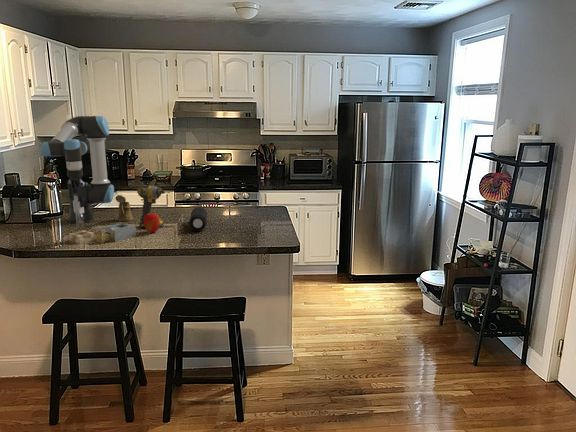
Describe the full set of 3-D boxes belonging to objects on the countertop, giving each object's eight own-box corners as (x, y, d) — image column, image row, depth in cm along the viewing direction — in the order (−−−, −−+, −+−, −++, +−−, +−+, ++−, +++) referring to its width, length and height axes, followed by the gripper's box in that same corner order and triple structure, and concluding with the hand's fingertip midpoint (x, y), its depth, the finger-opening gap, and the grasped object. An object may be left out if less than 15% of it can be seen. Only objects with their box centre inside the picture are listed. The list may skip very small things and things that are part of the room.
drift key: (96, 241, 258) (95, 234, 256) (112, 237, 266) (112, 229, 265) (102, 243, 255) (101, 235, 254) (118, 238, 264) (117, 230, 263)
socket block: (102, 238, 264) (101, 228, 263) (122, 232, 276) (122, 222, 274) (115, 241, 259) (114, 231, 257) (136, 235, 270) (135, 225, 269)
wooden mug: (113, 223, 296) (111, 195, 291) (120, 218, 309) (118, 190, 305) (128, 223, 296) (126, 195, 292) (134, 218, 309) (132, 190, 305)
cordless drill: (167, 229, 282) (165, 188, 276) (136, 228, 286) (133, 186, 280) (174, 226, 291) (172, 185, 284) (144, 224, 294) (141, 184, 288)
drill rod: (75, 226, 258) (71, 193, 254) (81, 224, 261) (78, 192, 257) (79, 227, 256) (76, 194, 252) (85, 225, 259) (82, 193, 255)
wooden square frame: (69, 241, 260) (68, 234, 259) (84, 237, 267) (83, 230, 266) (80, 243, 255) (79, 236, 254) (94, 239, 262) (93, 232, 261)
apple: (160, 233, 274) (158, 213, 271) (143, 234, 272) (142, 214, 269) (160, 229, 282) (159, 209, 280) (145, 230, 281) (143, 210, 278)
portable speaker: (191, 221, 301) (191, 206, 299) (207, 221, 303) (207, 205, 300) (189, 232, 277) (188, 215, 274) (206, 232, 278) (206, 215, 276)
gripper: (58, 168, 253) (63, 211, 258) (78, 171, 244) (82, 215, 250) (71, 167, 259) (75, 209, 264) (90, 169, 250) (95, 213, 256)
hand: (79, 212), depth 257 cm, fingers closed on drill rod, 3 cm apart
